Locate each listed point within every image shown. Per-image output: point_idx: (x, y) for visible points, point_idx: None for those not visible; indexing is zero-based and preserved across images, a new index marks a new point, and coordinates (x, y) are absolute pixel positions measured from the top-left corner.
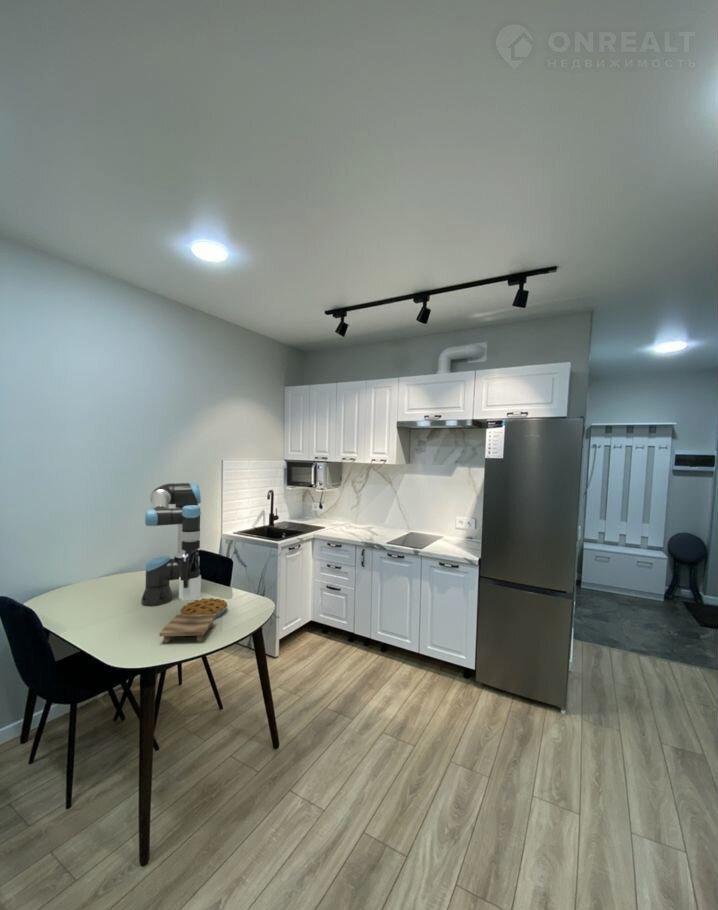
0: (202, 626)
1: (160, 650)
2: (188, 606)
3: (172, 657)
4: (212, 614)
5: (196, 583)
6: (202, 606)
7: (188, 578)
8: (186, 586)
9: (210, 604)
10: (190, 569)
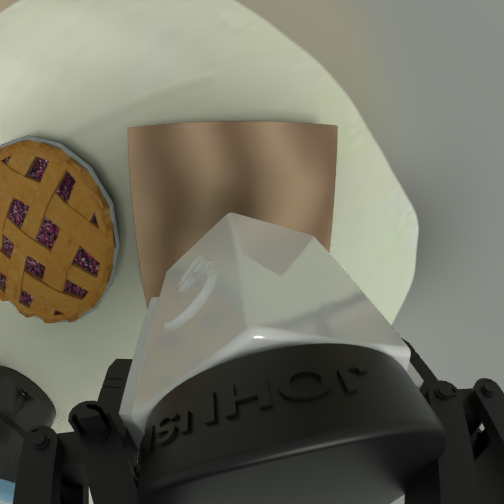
0: (281, 146)
1: (348, 261)
2: (51, 302)
3: (397, 204)
4: (131, 146)
5: (338, 294)
6: (39, 244)
7: (456, 393)
8: (411, 347)
9: (13, 219)
10: (443, 501)
